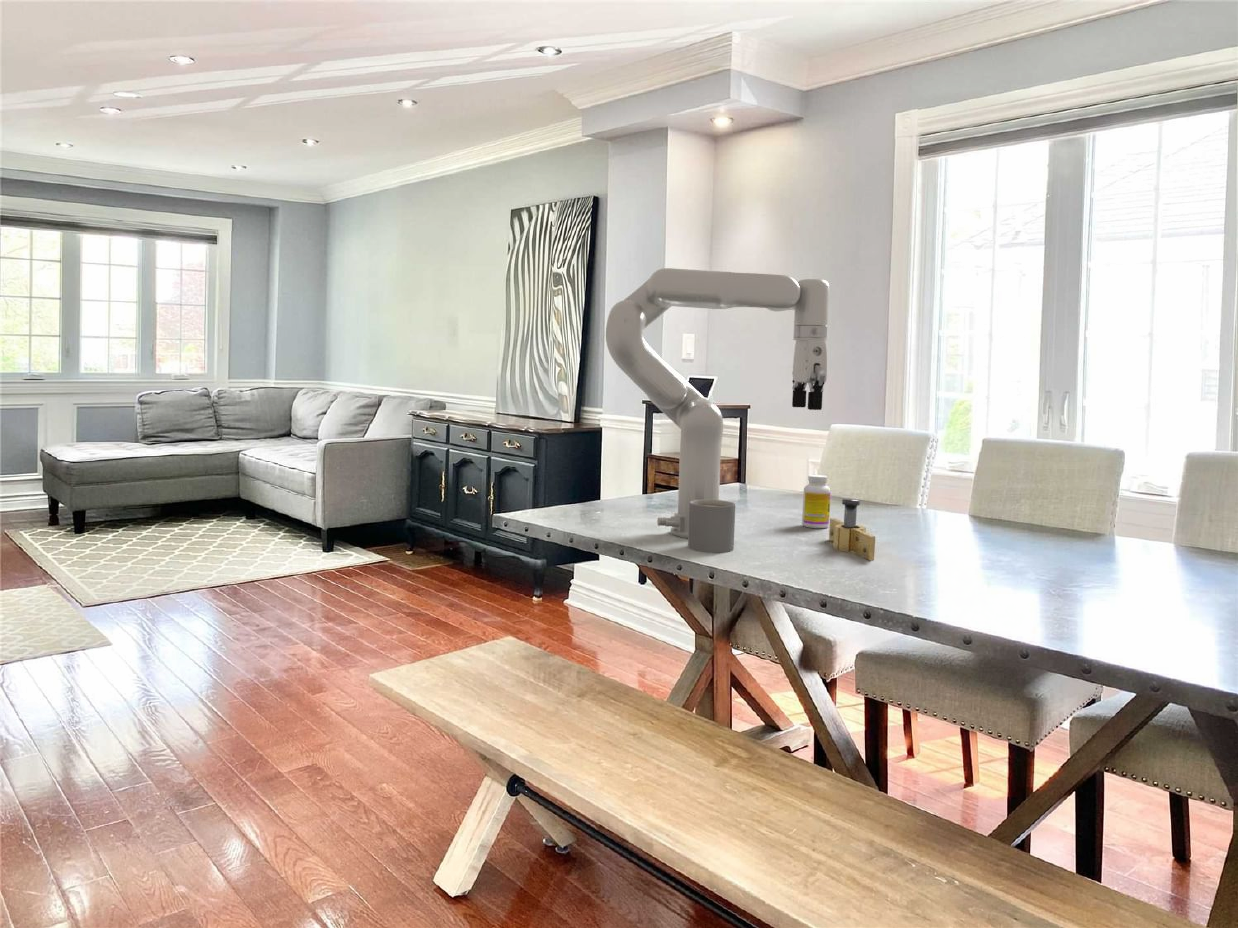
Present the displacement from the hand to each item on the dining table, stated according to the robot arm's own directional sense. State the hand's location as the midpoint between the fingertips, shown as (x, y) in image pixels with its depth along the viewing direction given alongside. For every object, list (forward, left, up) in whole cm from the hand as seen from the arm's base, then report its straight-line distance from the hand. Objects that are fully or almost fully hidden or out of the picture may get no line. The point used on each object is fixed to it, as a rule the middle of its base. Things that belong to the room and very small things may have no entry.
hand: (806, 408), depth 216 cm
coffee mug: (-24, -10, -31) cm, 40 cm away
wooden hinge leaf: (+6, -7, -30) cm, 32 cm away
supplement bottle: (+9, +13, -31) cm, 34 cm away
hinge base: (+6, -18, -30) cm, 36 cm away
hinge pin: (+6, -14, -30) cm, 34 cm away
